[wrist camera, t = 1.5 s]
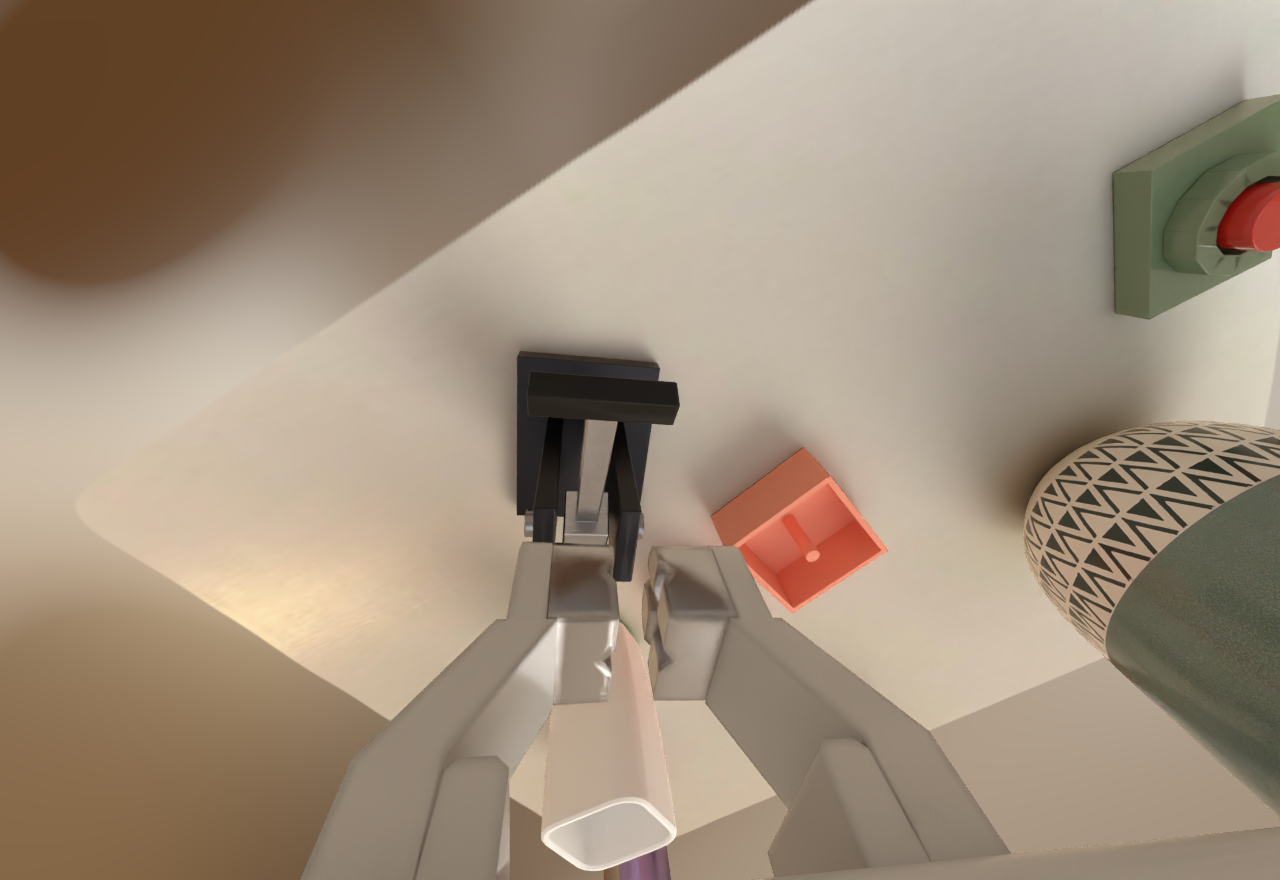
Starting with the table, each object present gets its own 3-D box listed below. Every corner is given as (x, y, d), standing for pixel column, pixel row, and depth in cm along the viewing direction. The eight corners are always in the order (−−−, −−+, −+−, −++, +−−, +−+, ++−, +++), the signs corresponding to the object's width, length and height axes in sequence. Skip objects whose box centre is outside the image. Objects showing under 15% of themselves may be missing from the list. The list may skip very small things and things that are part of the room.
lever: (531, 356, 15) (524, 411, 14) (675, 367, 16) (682, 421, 15) (538, 514, 25) (534, 556, 23) (628, 516, 26) (629, 557, 24)
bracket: (519, 350, 29) (484, 429, 19) (657, 362, 30) (697, 442, 20) (518, 506, 34) (491, 635, 24) (636, 510, 36) (659, 634, 25)
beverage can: (635, 729, 48) (655, 925, 35) (663, 753, 51) (691, 944, 38) (589, 752, 49) (592, 951, 36) (618, 774, 52) (631, 968, 39)
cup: (545, 632, 40) (529, 836, 27) (617, 599, 40) (636, 792, 27) (586, 676, 44) (588, 877, 31) (653, 646, 43) (685, 839, 30)
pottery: (803, 447, 35) (877, 526, 26) (859, 517, 39) (939, 606, 30) (628, 577, 39) (642, 684, 30) (695, 629, 43) (724, 737, 34)
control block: (1112, 173, 28) (1189, 167, 25) (1245, 99, 27) (1344, 82, 24) (1114, 313, 33) (1179, 326, 29) (1229, 255, 32) (1310, 260, 28)
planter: (1191, 499, 42) (1685, 733, 23) (989, 600, 46) (1281, 878, 27) (1185, 325, 34) (1957, 472, 15) (937, 465, 37) (1312, 732, 18)
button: (1216, 203, 26) (1256, 203, 25) (1281, 169, 26) (1326, 166, 24) (1211, 261, 28) (1248, 264, 26) (1272, 229, 27) (1314, 230, 26)
